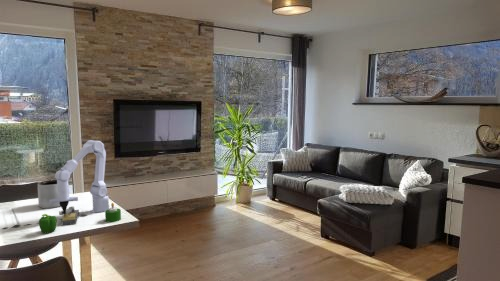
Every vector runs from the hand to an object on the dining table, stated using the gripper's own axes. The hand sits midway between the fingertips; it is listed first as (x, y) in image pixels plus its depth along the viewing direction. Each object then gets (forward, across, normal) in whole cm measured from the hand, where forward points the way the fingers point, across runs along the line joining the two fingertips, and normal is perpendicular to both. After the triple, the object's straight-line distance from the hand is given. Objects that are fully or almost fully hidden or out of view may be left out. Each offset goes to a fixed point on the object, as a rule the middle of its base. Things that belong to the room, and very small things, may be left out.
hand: (64, 214), depth 210 cm
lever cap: (+1, -3, +7) cm, 7 cm away
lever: (0, -1, -4) cm, 4 cm away
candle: (+4, -26, +12) cm, 28 cm away
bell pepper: (+3, +7, +18) cm, 20 cm away
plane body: (+3, -3, +1) cm, 4 cm away
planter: (+3, +10, -36) cm, 37 cm away
